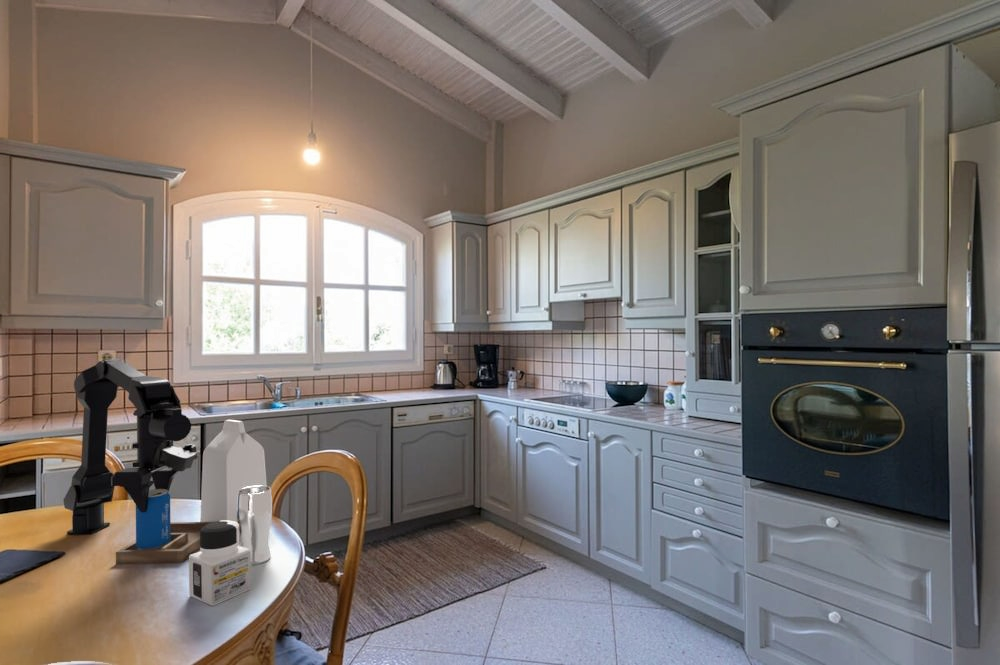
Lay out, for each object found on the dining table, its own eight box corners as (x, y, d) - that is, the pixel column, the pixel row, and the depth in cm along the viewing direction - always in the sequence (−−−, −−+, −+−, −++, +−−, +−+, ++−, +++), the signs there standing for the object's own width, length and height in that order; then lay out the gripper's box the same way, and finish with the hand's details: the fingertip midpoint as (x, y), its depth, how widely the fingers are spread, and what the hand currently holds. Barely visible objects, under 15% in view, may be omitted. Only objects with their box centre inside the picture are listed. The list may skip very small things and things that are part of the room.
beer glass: (279, 555, 120) (279, 486, 120) (256, 568, 113) (255, 495, 113) (254, 551, 122) (253, 484, 122) (229, 564, 116) (228, 493, 116)
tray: (166, 532, 134) (166, 521, 134) (223, 531, 134) (223, 520, 134) (115, 563, 116) (115, 550, 116) (182, 562, 116) (182, 549, 116)
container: (212, 607, 97) (211, 534, 97) (188, 596, 101) (187, 526, 101) (252, 589, 104) (251, 521, 104) (228, 580, 108) (227, 514, 108)
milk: (269, 518, 144) (267, 419, 144) (227, 531, 134) (225, 426, 134) (242, 510, 151) (240, 416, 150) (200, 523, 141) (198, 422, 141)
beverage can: (154, 553, 118) (153, 497, 118) (128, 551, 119) (128, 496, 119) (177, 542, 124) (177, 489, 124) (153, 540, 125) (152, 487, 125)
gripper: (163, 445, 112) (164, 521, 112) (210, 428, 131) (211, 494, 131) (108, 445, 112) (109, 522, 112) (163, 429, 131) (164, 494, 131)
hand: (153, 507), depth 121 cm, fingers closed on beverage can, 6 cm apart
